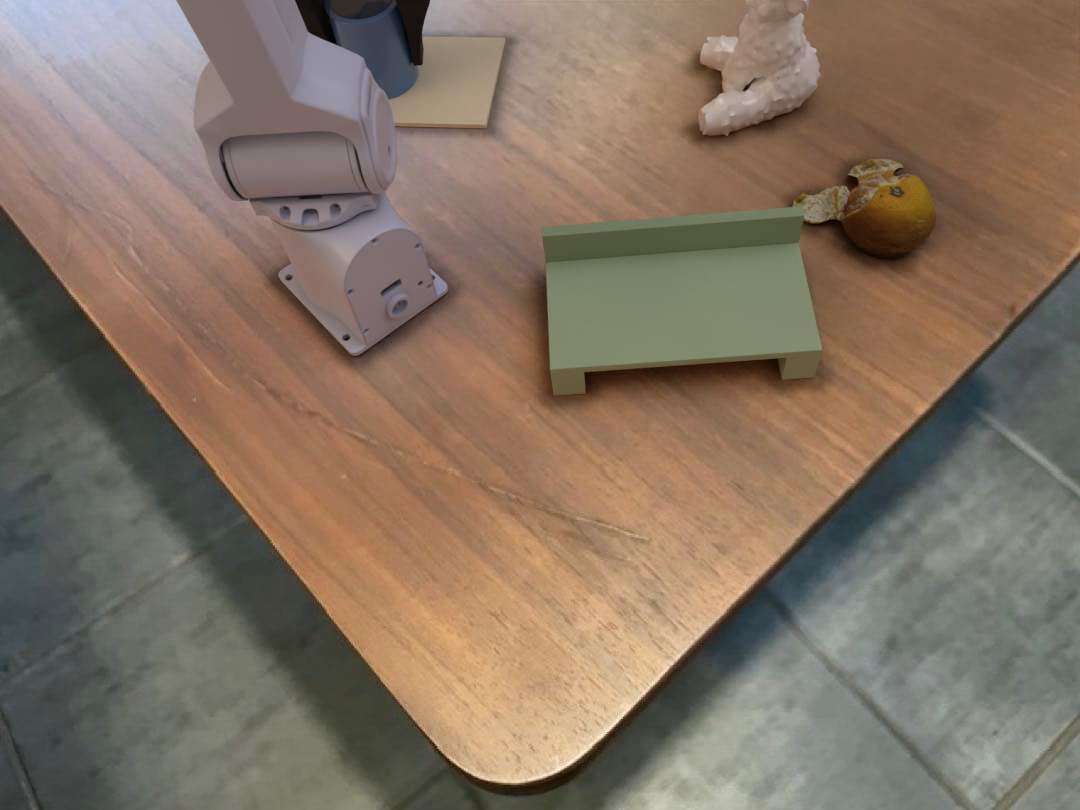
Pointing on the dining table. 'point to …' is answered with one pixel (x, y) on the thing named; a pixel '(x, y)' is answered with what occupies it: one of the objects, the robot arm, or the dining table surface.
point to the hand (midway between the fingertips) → (379, 60)
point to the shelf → (678, 294)
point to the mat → (452, 84)
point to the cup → (375, 40)
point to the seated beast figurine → (760, 67)
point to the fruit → (877, 209)
